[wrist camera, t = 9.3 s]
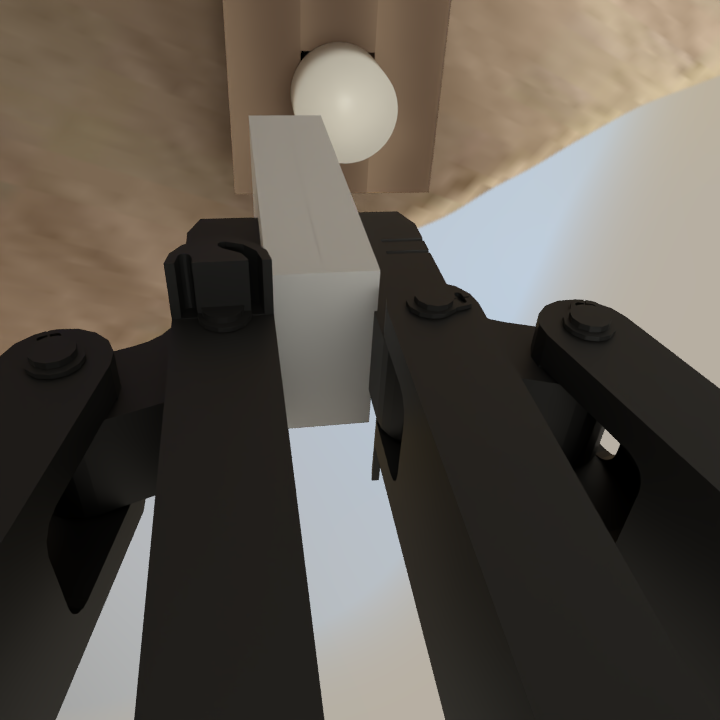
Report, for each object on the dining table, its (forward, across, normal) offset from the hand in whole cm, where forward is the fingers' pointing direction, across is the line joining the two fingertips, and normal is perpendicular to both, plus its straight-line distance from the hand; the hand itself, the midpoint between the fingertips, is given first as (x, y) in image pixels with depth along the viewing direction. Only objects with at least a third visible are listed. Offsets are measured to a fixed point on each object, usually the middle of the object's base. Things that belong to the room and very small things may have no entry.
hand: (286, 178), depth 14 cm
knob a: (+23, +4, -3) cm, 24 cm away
